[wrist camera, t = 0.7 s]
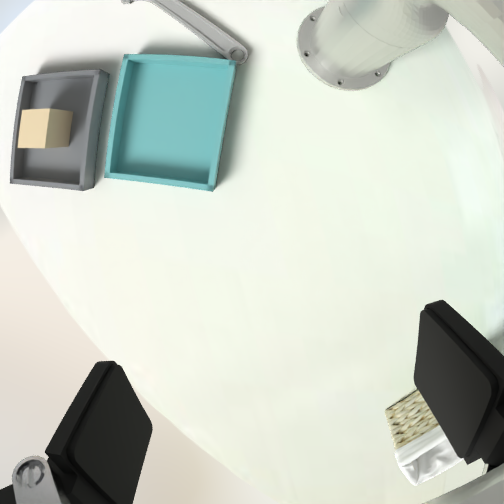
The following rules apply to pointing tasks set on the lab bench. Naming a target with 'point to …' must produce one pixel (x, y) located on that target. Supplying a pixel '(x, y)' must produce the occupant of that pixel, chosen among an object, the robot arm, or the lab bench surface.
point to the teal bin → (169, 120)
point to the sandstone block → (45, 128)
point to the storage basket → (419, 440)
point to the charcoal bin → (81, 135)
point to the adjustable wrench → (200, 27)
